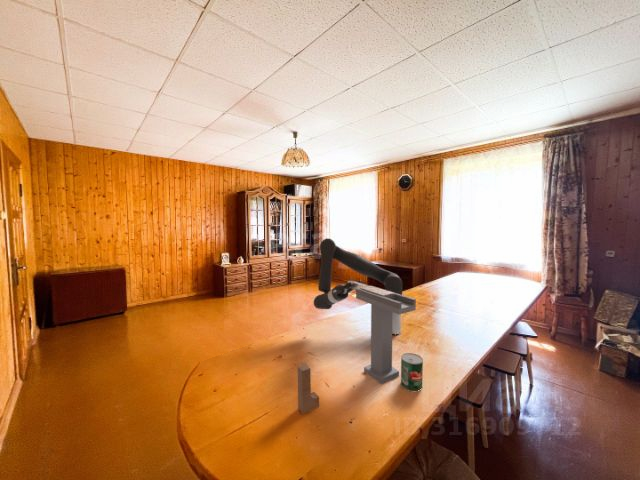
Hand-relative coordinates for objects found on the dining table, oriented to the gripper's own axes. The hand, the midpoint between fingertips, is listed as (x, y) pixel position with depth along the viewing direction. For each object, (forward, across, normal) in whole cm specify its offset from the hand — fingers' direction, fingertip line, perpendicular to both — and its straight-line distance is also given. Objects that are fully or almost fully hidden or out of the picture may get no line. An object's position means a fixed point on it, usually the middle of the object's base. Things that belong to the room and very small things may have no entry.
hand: (356, 283), depth 120 cm
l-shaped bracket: (-2, -35, +39) cm, 53 cm away
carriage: (+5, 0, +6) cm, 8 cm away
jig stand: (-3, 0, +38) cm, 39 cm away
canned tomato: (+7, +4, +45) cm, 45 cm away
